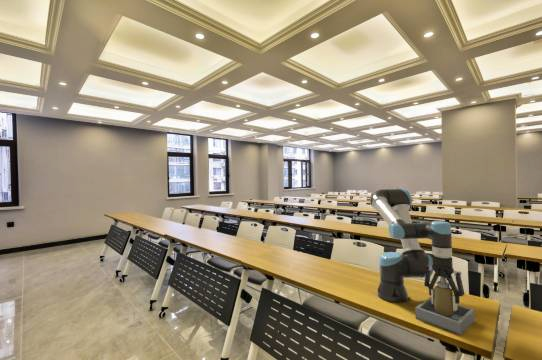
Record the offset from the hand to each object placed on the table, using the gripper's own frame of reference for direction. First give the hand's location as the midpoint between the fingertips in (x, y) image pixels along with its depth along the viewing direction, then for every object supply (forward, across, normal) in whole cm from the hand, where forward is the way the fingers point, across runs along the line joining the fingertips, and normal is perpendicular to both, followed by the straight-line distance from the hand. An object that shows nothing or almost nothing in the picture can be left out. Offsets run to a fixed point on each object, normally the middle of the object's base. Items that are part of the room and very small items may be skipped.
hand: (444, 306), depth 116 cm
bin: (+6, 0, 0) cm, 6 cm away
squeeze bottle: (+4, 0, 0) cm, 4 cm away
